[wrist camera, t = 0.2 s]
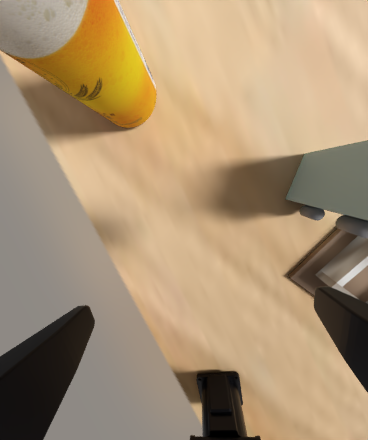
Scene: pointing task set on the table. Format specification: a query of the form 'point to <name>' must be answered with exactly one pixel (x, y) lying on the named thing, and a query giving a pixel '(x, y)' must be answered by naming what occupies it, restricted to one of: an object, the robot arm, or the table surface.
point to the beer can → (82, 54)
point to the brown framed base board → (336, 266)
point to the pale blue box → (335, 186)
